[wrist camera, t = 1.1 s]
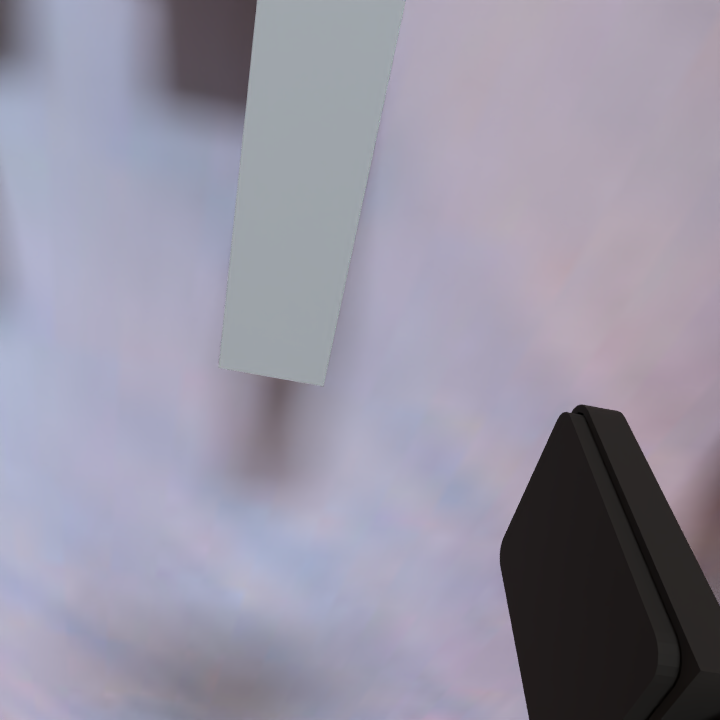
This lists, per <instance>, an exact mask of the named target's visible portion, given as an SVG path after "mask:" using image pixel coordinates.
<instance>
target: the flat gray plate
mask: <svg viewBox="0 0 720 720" xmlns="http://www.w3.org/2000/svg"><path fill="white" fill-rule="evenodd" d="M405 1H406V0H257V7H256V16H255V26H254V35H253V45H252V54H251V64H250V73H249V83H248V92H247V102H246V111H245V121H244V130H243V140H242V149H241V159H240V168H239V178H238V187H237V197H236V206H235V216H234V225H233V235H232V244H231V254H230V263H229V273H228V282H227V292H226V301H225V311H224V320H223V330H222V339H221V349H220V358H219V368H221V369H227V370H233V371H238V372H244V373H250V374H256V375H261V376H267V377H273V378H278V379H284V380H290V381H295V382H301V383H307V384H312V385H318V386H324V381H325V377H326V372H327V367H328V362H329V358H330V353H331V348H332V344H333V339H334V334H335V330H336V325H337V320H338V316H339V311H340V306H341V302H342V297H343V292H344V287H345V283H346V278H347V273H348V269H349V264H350V259H351V255H352V250H353V245H354V241H355V236H356V231H357V226H358V222H359V217H360V212H361V208H362V203H363V198H364V194H365V189H366V184H367V180H368V175H369V170H370V165H371V161H372V156H373V151H374V147H375V142H376V137H377V133H378V128H379V123H380V119H381V114H382V109H383V104H384V100H385V95H386V90H387V86H388V81H389V76H390V72H391V67H392V62H393V58H394V53H395V48H396V44H397V39H398V34H399V29H400V25H401V20H402V15H403V11H404V6H405Z"/></svg>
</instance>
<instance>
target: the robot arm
mask: <svg viewBox="0 0 720 720" xmlns="http://www.w3.org/2000/svg"><path fill="white" fill-rule="evenodd" d="M500 566H501V571H502V577H503V582H504V587H505V593H506V598H507V603H508V608H509V614H510V619H511V624H512V630H513V635H514V640H515V646H516V651H517V656H518V662H519V667H520V672H521V678H522V683H523V688H524V693H525V699H526V704H527V709H528V715H529V720H720V606H719V604H718V602H717V600H716V598H715V596H714V594H713V592H712V590H711V588H710V586H709V584H708V582H707V580H706V578H705V576H704V574H703V572H702V570H701V568H700V566H699V564H698V562H697V560H696V558H695V556H694V554H693V552H692V550H691V548H690V546H689V544H688V542H687V540H686V538H685V536H684V534H683V532H682V530H681V528H680V526H679V524H678V522H677V520H676V518H675V516H674V514H673V512H672V510H671V508H670V506H669V504H668V502H667V500H666V498H665V496H664V494H663V492H662V490H661V488H660V486H659V484H658V482H657V480H656V478H655V476H654V474H653V472H652V470H651V468H650V466H649V464H648V462H647V460H646V458H645V456H644V454H643V452H642V450H641V448H640V446H639V444H638V443H637V441H636V439H635V437H634V435H633V433H632V431H631V429H630V427H629V425H628V423H627V421H626V419H625V417H624V416H623V414H622V413H621V412H618V411H615V410H609V409H603V408H598V407H592V406H587V405H578V406H577V407H576V408H574V409H573V411H572V413H568V412H564V413H562V414H561V415H560V416H559V418H558V420H557V422H556V424H555V426H554V428H553V430H552V433H551V435H550V437H549V439H548V441H547V444H546V446H545V448H544V450H543V452H542V455H541V457H540V459H539V461H538V463H537V466H536V468H535V470H534V472H533V474H532V477H531V479H530V481H529V483H528V485H527V487H526V490H525V492H524V494H523V496H522V498H521V501H520V503H519V505H518V507H517V509H516V512H515V514H514V516H513V518H512V520H511V523H510V525H509V527H508V529H507V531H506V534H505V536H504V538H503V541H502V544H501V549H500Z"/></svg>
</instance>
